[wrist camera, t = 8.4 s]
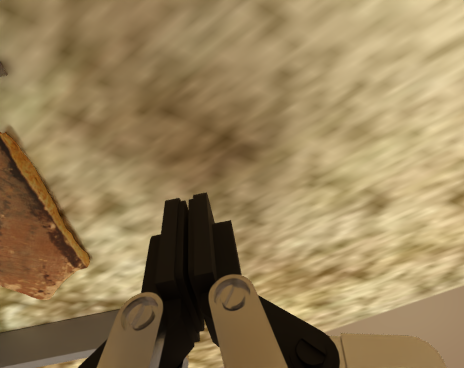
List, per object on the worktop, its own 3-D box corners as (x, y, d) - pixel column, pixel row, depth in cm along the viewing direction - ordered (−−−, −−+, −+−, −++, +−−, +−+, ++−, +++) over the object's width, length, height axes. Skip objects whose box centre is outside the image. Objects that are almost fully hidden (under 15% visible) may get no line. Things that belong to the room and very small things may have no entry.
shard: (11, 120, 15) (-10, 131, 14) (138, 189, 18) (132, 204, 17) (-43, 247, 19) (-65, 267, 18) (69, 288, 22) (59, 308, 20)
